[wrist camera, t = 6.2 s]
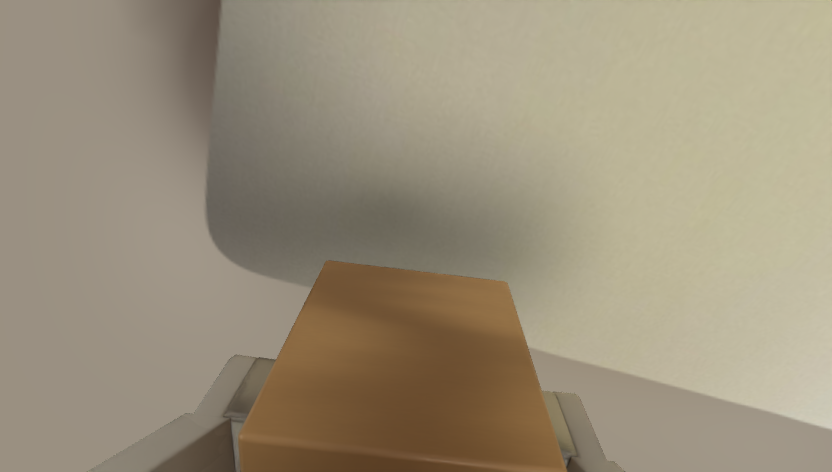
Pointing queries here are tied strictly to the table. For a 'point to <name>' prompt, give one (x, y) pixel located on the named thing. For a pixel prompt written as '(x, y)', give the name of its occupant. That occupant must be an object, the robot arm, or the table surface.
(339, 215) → the table surface
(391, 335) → the block
